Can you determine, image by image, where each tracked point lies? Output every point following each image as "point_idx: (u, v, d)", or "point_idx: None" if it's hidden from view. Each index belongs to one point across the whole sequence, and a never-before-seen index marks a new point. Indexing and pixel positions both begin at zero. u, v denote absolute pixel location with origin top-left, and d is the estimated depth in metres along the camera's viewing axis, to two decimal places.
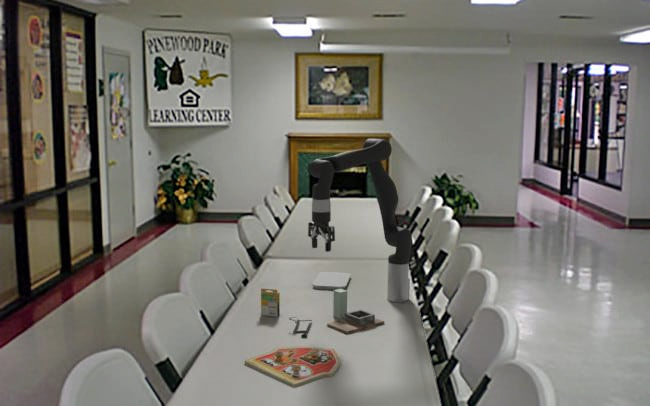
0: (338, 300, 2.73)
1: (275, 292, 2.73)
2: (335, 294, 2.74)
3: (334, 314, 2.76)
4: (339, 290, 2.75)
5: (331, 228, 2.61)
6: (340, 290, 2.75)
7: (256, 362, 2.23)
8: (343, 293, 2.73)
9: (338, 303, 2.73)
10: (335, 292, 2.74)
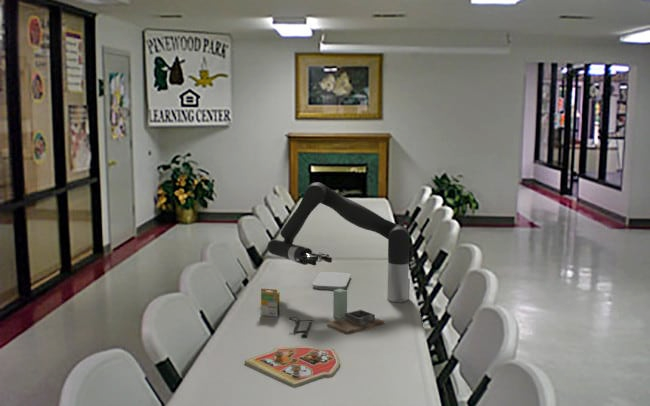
0: (338, 300, 2.73)
1: (275, 292, 2.73)
2: (335, 294, 2.74)
3: (334, 314, 2.76)
4: (339, 290, 2.75)
5: (296, 260, 2.84)
6: (340, 290, 2.75)
7: (256, 362, 2.23)
8: (343, 293, 2.73)
9: (338, 303, 2.73)
10: (335, 292, 2.74)
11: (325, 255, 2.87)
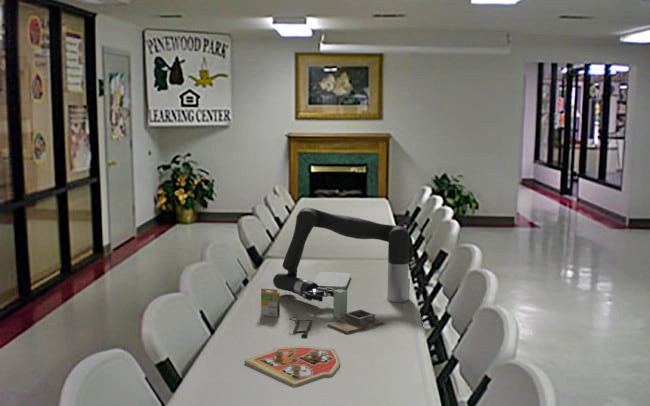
0: (338, 300, 2.73)
1: (275, 292, 2.73)
2: (335, 294, 2.74)
3: (334, 314, 2.76)
4: (339, 290, 2.75)
5: (303, 295, 2.83)
6: (340, 290, 2.75)
7: (256, 362, 2.23)
8: (343, 293, 2.73)
9: (338, 303, 2.73)
10: (335, 292, 2.74)
11: (331, 290, 2.86)
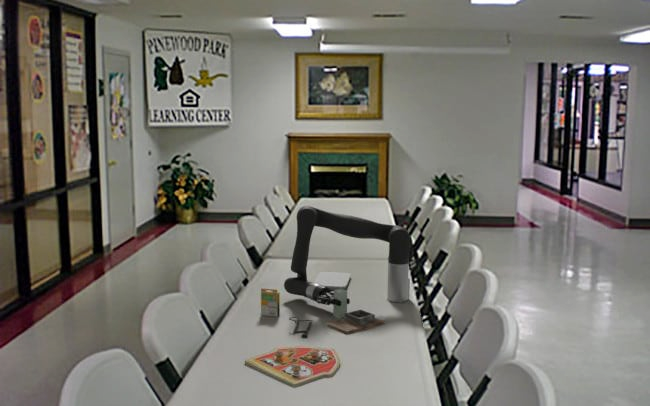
0: None
1: (275, 292, 2.73)
2: (335, 294, 2.74)
3: (334, 314, 2.76)
4: (339, 290, 2.75)
5: (318, 301, 2.76)
6: (340, 290, 2.75)
7: (256, 362, 2.23)
8: (343, 293, 2.73)
9: None
10: (335, 292, 2.74)
11: None
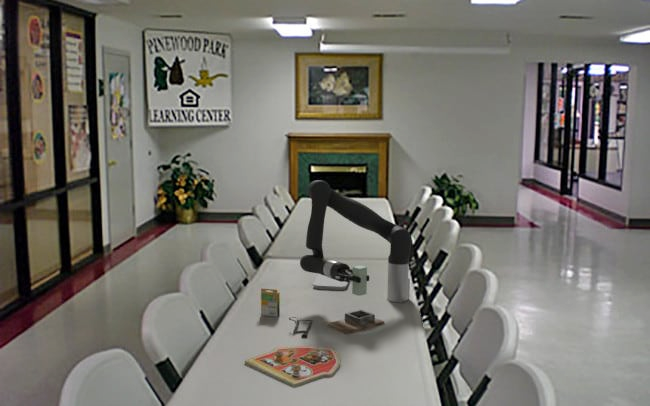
0: None
1: (275, 292, 2.73)
2: (354, 270, 2.63)
3: (353, 291, 2.65)
4: (358, 266, 2.64)
5: (336, 278, 2.65)
6: (359, 266, 2.64)
7: (256, 362, 2.23)
8: (363, 269, 2.62)
9: None
10: (354, 268, 2.63)
11: None
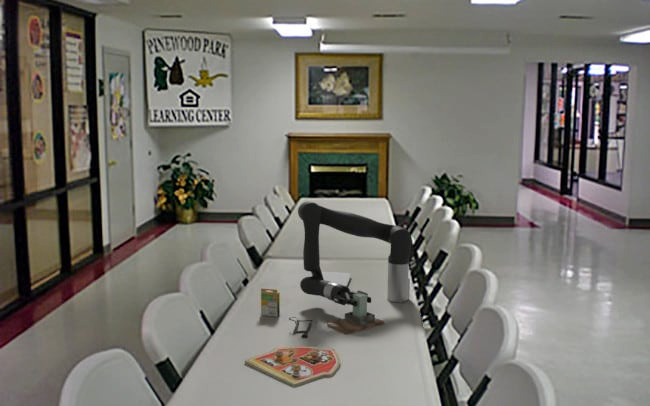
0: (358, 304, 2.63)
1: (275, 292, 2.73)
2: (354, 298, 2.65)
3: None
4: (359, 294, 2.65)
5: (335, 300, 2.67)
6: (360, 294, 2.65)
7: (256, 362, 2.23)
8: (363, 297, 2.64)
9: (358, 308, 2.64)
10: (355, 296, 2.65)
11: None
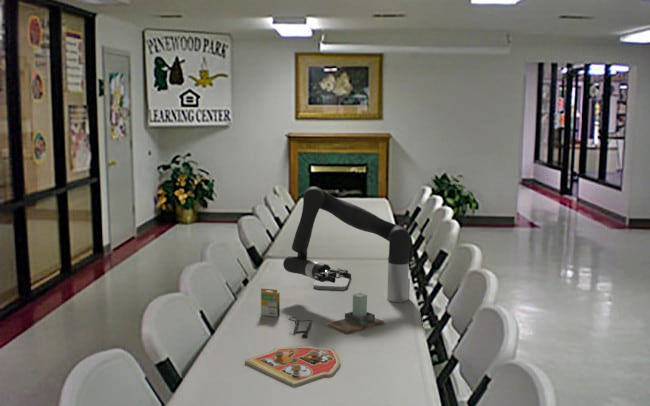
0: (358, 305, 2.63)
1: (275, 292, 2.73)
2: (354, 298, 2.65)
3: None
4: (358, 294, 2.65)
5: (315, 277, 2.76)
6: (359, 294, 2.65)
7: (256, 362, 2.23)
8: (363, 297, 2.64)
9: (358, 308, 2.64)
10: (354, 296, 2.64)
11: (344, 271, 2.79)
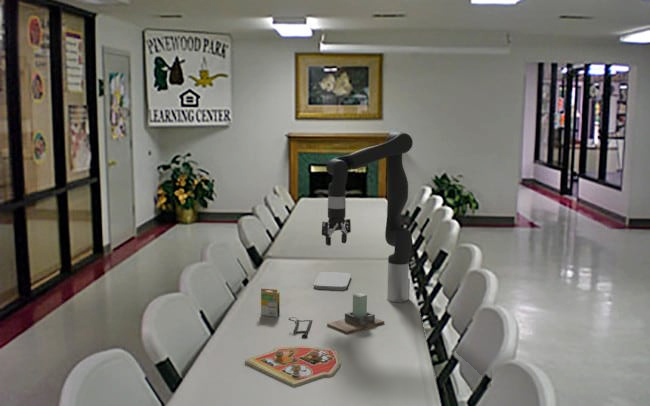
0: (358, 305, 2.63)
1: (275, 292, 2.73)
2: (354, 298, 2.65)
3: None
4: (358, 294, 2.65)
5: (323, 223, 2.78)
6: (359, 294, 2.65)
7: (257, 362, 2.23)
8: (363, 297, 2.64)
9: (358, 308, 2.64)
10: (354, 296, 2.64)
11: (346, 233, 2.84)
